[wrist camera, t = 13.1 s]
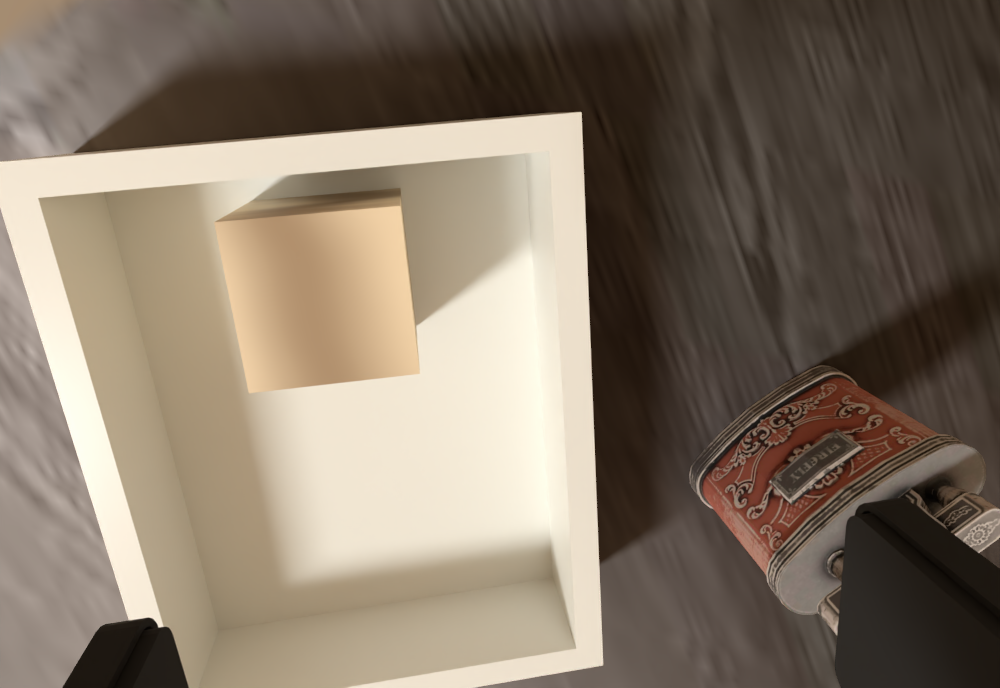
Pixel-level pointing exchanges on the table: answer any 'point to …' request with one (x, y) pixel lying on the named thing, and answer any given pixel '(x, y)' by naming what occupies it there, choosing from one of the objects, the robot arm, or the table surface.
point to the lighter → (832, 481)
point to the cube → (320, 289)
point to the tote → (333, 409)
